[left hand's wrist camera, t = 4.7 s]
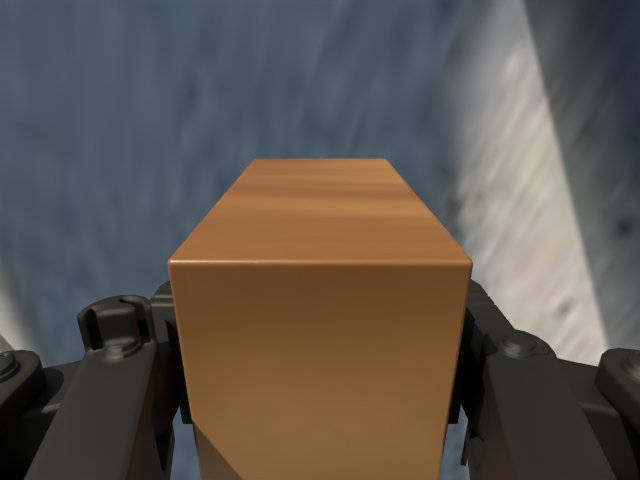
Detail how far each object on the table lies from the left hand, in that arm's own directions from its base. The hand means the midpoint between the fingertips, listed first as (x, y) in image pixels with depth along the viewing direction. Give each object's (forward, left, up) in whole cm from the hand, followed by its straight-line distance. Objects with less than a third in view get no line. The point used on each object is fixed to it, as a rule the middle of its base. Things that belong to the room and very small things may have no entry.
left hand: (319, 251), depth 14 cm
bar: (+11, +3, -1) cm, 11 cm away
